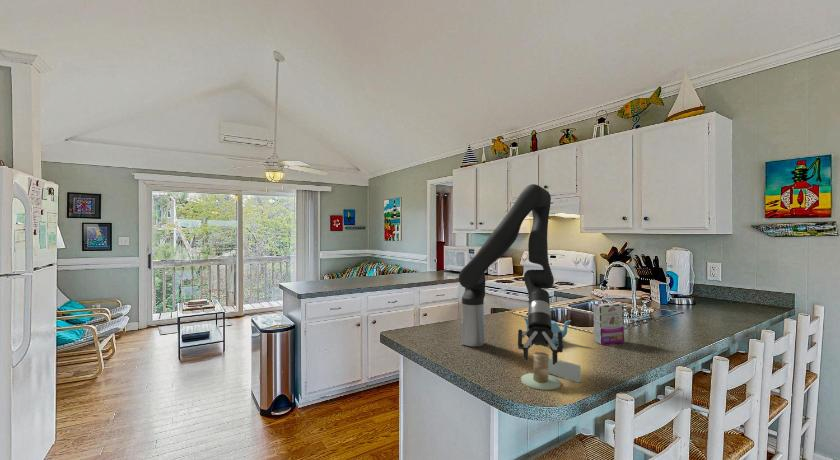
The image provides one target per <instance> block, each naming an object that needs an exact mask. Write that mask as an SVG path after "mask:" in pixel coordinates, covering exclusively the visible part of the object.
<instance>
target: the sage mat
mask: <svg viewBox="0 0 840 460" xmlns="http://www.w3.org/2000/svg"><path fill="white" fill-rule="evenodd" d="M520 382H521V383H522V384H523V385H524V386H526V387H528V388H531V389H535V390H539V389H540V391H552V390H557V389H559V388H560V387H561V386H562V380H560V379H559V378H558V377H557V376H555V375H552V374H548V382H546V383H540V382H536V381H534V380H533V372H532V373H531V372H530V373H526V374H523V375H522V376H521V378H520Z"/></svg>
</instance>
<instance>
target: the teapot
mask: <svg viewBox="0 0 840 460" xmlns="http://www.w3.org/2000/svg"><path fill="white" fill-rule="evenodd" d="M522 318H523V320H524V321H525V324H526V325H525V326H526V331H527V330H528V317H527V318H526V317H525V316H524V317H523V316H522ZM570 322H572V320H571V319H570V320H566V321H565V322H564V323H563V329H561V328H560V326H559V324H558V323H557V322H556V321H555V320H552V319H551V329H552V332H553V333H558V332H561V333H562V340H563V339H564V338H565V337H566V335H567V334H568V326H569V324H570ZM551 340H552V342H553V344H554V345H555V346H556V345H558V341H557V340H556V339H555V337H553V338H552V339H551Z"/></svg>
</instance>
